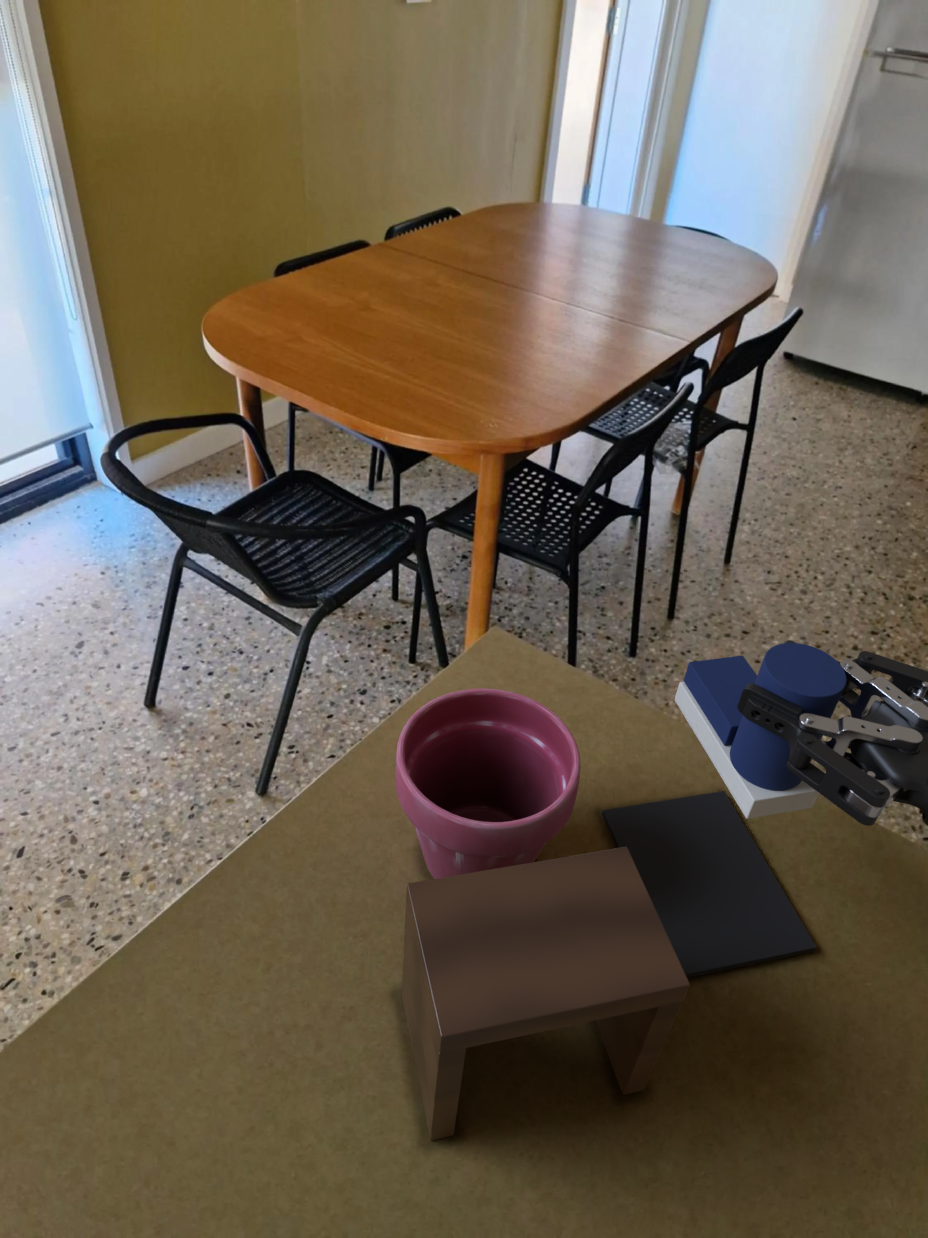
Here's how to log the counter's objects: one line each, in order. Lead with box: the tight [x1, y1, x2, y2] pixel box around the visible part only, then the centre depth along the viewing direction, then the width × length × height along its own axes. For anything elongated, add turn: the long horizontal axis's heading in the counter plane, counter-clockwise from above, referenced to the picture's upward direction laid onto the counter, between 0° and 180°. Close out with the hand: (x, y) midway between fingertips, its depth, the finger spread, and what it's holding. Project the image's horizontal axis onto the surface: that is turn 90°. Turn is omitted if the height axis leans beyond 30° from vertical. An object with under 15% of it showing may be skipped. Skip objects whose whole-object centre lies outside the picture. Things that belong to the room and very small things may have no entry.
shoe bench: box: [401, 847, 691, 1141], centre depth 58 cm, size 10×15×14 cm, turn 104°
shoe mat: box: [601, 790, 818, 979], centre depth 74 cm, size 16×12×1 cm
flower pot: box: [394, 688, 582, 879], centre depth 71 cm, size 14×14×13 cm
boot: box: [674, 642, 847, 820], centre depth 63 cm, size 12×5×11 cm, turn 14°
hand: (762, 674), depth 59 cm, fingers closed on boot, 5 cm apart
